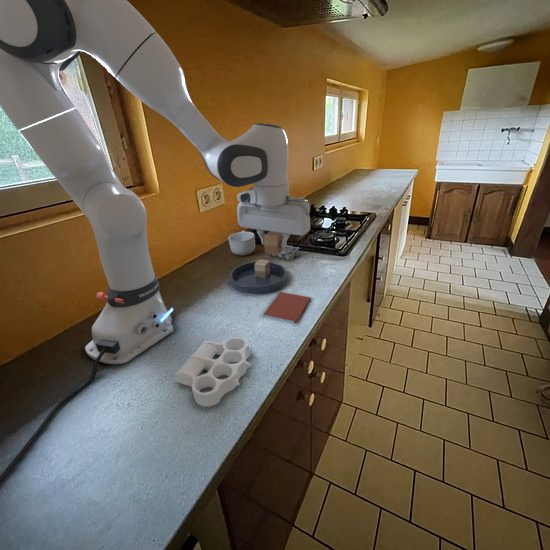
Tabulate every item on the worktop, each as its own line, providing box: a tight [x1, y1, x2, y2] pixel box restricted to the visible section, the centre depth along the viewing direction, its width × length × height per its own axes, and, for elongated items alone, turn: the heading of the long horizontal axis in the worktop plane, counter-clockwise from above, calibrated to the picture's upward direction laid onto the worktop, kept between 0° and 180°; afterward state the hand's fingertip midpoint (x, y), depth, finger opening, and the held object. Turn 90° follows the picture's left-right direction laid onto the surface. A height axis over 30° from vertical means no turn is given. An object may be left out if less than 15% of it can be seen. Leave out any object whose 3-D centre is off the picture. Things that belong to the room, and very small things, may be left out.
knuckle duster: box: [173, 337, 253, 408], centre depth 67 cm, size 3×18×15 cm
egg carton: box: [272, 244, 300, 260], centre depth 123 cm, size 11×8×4 cm
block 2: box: [263, 231, 284, 255], centre depth 82 cm, size 4×4×5 cm
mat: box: [263, 291, 311, 324], centre depth 90 cm, size 13×10×1 cm
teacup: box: [227, 230, 256, 257], centre depth 127 cm, size 14×11×8 cm
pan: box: [229, 260, 288, 295], centre depth 105 cm, size 19×19×3 cm
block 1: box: [254, 259, 271, 278], centre depth 107 cm, size 4×4×5 cm
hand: (273, 245), depth 83 cm, fingers closed on block 2, 4 cm apart
